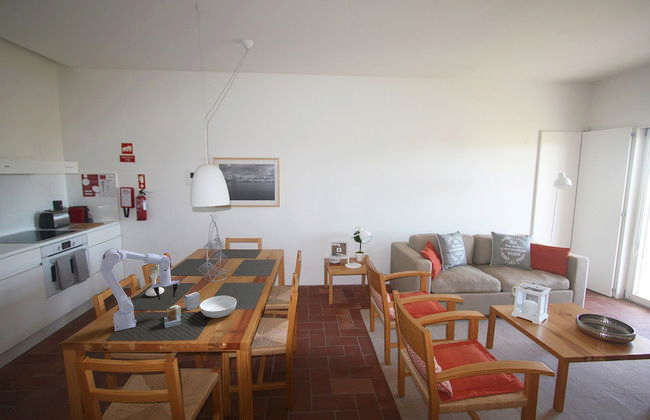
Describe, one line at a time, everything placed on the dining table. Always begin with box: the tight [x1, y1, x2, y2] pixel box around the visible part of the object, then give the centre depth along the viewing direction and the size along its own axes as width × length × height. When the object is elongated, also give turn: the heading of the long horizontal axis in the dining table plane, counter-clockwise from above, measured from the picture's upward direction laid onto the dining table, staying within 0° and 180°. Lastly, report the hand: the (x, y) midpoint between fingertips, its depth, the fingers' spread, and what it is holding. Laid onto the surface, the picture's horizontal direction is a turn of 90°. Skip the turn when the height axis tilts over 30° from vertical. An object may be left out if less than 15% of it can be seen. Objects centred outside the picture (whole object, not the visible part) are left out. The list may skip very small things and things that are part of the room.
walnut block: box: [166, 307, 177, 321], centre depth 167 cm, size 4×4×6 cm
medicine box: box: [183, 291, 201, 311], centre depth 186 cm, size 8×4×9 cm, turn 141°
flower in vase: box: [145, 265, 165, 297], centre depth 204 cm, size 13×11×25 cm
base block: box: [164, 314, 182, 329], centre depth 168 cm, size 8×8×3 cm
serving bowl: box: [199, 295, 237, 319], centre depth 179 cm, size 21×21×7 cm
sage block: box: [169, 304, 182, 317], centre depth 176 cm, size 4×4×6 cm
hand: (166, 297), depth 176 cm, fingers open, 7 cm apart
